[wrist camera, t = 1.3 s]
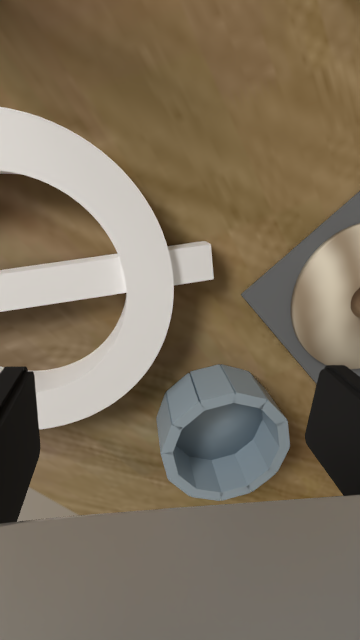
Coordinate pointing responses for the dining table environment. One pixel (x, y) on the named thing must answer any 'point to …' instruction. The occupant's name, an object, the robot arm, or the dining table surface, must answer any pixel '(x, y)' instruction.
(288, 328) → the mat
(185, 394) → the bowl
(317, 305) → the lid
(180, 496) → the dining table surface
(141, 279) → the ring with crossbar
